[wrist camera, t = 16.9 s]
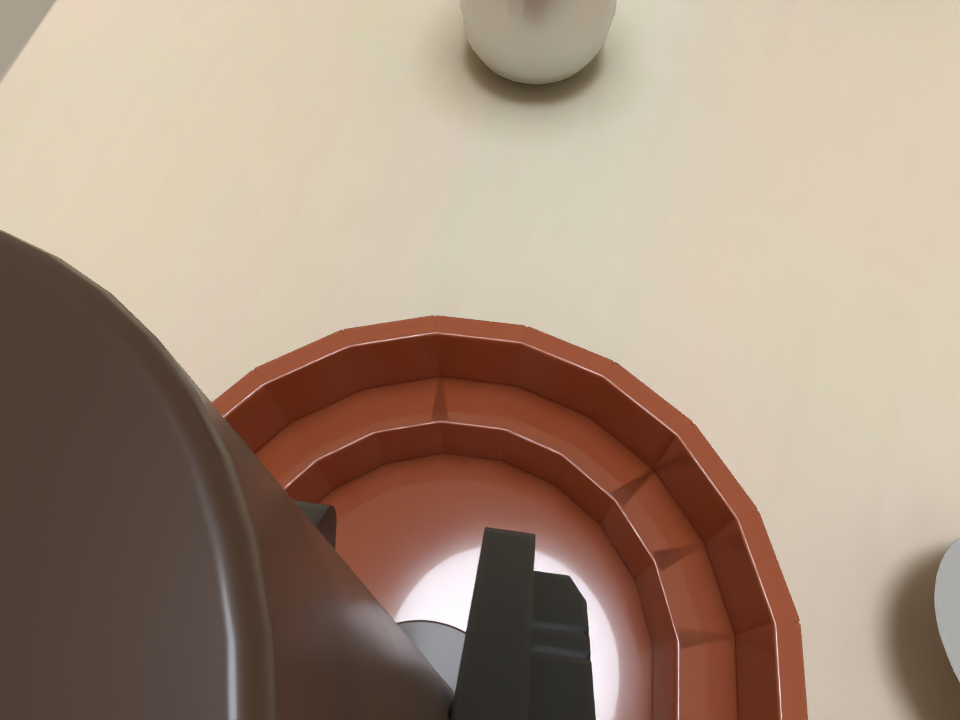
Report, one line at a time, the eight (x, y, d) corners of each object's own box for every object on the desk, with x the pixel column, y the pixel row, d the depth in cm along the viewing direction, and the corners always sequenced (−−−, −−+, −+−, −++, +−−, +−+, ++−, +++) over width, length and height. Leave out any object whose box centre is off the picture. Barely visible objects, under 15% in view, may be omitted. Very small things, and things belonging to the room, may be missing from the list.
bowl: (71, 956, 16) (-108, 1056, 11) (258, 378, 23) (197, 286, 18) (731, 1078, 15) (851, 1248, 10) (715, 435, 22) (780, 353, 17)
